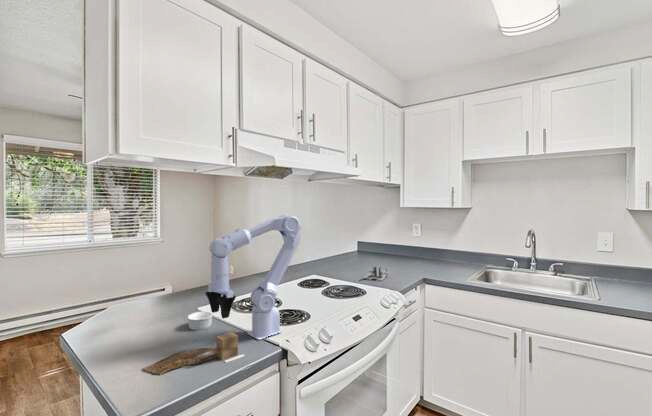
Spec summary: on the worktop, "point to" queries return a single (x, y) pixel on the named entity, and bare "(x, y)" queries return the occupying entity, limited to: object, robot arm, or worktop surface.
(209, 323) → the ramekin
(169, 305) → the worktop surface
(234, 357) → the strip
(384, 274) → the bike brake
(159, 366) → the wooden fragment
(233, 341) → the mallet
